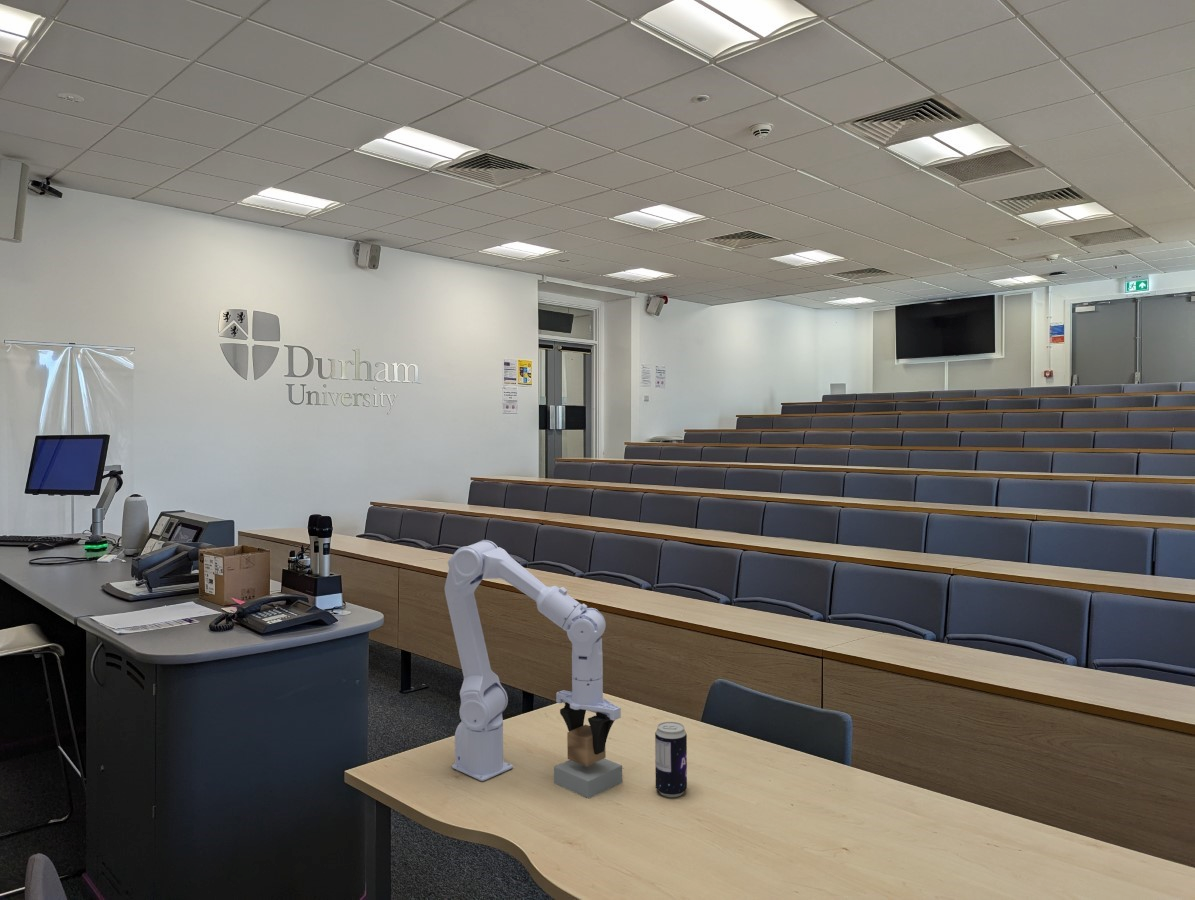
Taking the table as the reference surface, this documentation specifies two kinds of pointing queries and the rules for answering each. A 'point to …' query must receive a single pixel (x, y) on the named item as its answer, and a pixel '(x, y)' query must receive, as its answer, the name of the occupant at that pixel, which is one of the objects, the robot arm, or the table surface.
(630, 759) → the table surface
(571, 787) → the grey block
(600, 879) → the table surface
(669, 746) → the beverage can
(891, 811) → the table surface
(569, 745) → the walnut cube
